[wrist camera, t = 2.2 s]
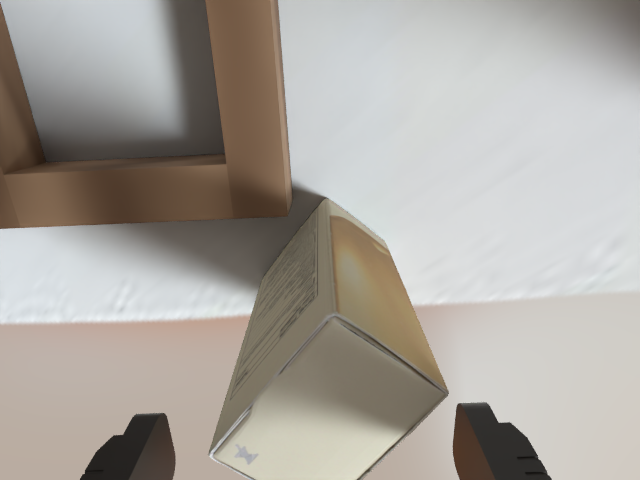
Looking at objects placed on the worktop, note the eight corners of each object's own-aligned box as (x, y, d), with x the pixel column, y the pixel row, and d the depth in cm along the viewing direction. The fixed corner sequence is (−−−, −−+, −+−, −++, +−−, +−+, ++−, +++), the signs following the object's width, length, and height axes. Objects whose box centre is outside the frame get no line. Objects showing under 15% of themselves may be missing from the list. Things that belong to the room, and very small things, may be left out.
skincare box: (320, 318, 24) (316, 528, 13) (259, 278, 24) (197, 465, 12) (392, 237, 23) (460, 398, 11) (328, 190, 22) (331, 313, 10)
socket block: (265, -169, 16) (252, -220, 14) (292, 198, 22) (287, 216, 19) (-103, -143, 17) (-188, -187, 14) (13, 211, 22) (-32, 229, 19)
